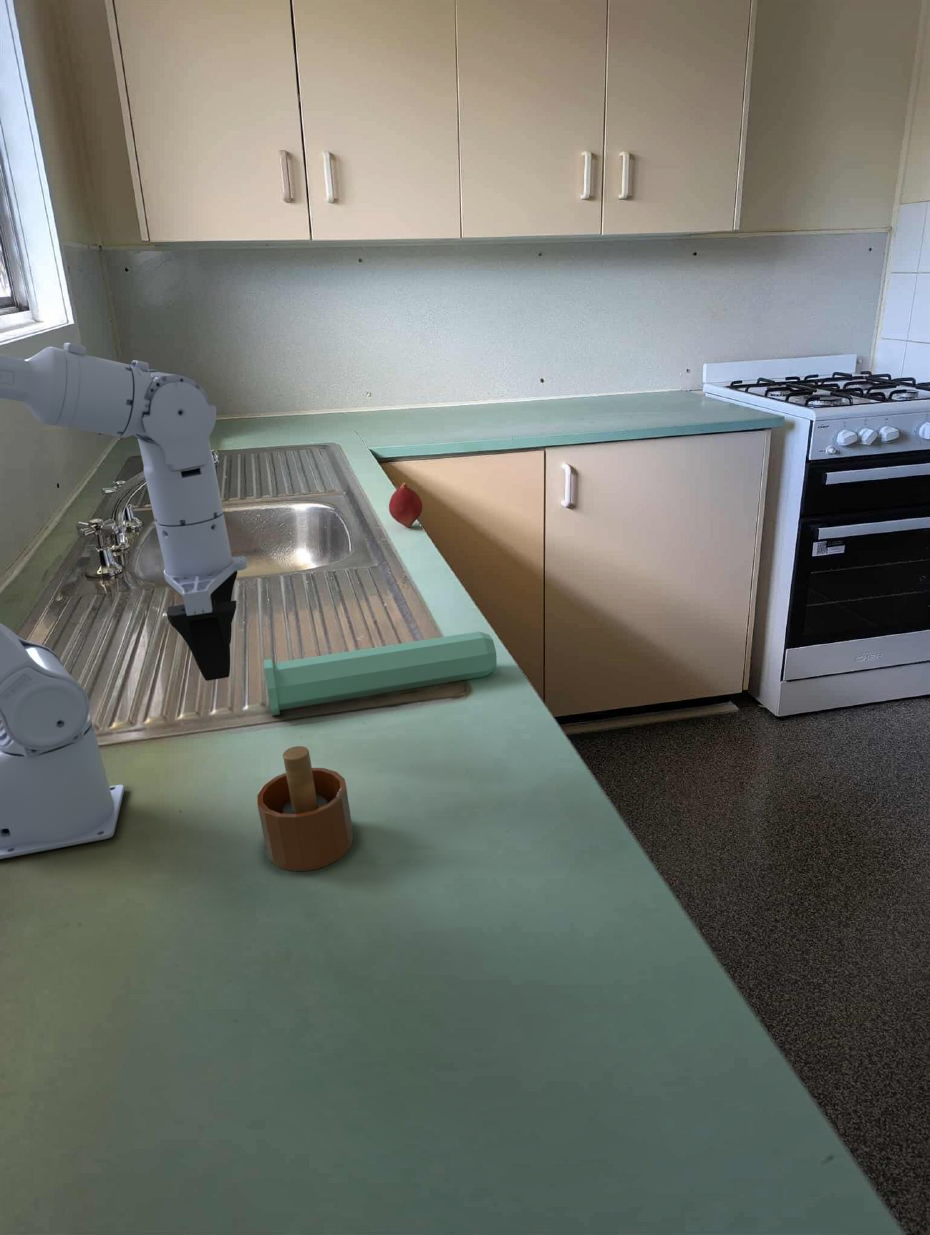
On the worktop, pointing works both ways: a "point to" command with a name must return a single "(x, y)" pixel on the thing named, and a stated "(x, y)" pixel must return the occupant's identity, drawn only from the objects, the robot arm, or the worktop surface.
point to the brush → (300, 782)
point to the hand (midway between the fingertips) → (218, 660)
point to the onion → (405, 505)
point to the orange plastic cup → (306, 823)
